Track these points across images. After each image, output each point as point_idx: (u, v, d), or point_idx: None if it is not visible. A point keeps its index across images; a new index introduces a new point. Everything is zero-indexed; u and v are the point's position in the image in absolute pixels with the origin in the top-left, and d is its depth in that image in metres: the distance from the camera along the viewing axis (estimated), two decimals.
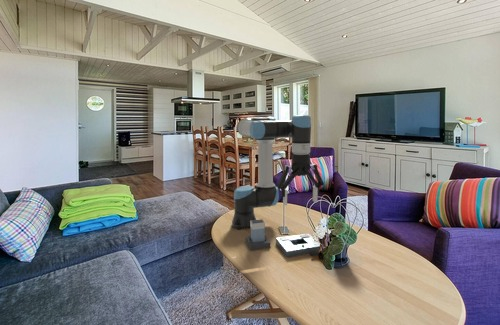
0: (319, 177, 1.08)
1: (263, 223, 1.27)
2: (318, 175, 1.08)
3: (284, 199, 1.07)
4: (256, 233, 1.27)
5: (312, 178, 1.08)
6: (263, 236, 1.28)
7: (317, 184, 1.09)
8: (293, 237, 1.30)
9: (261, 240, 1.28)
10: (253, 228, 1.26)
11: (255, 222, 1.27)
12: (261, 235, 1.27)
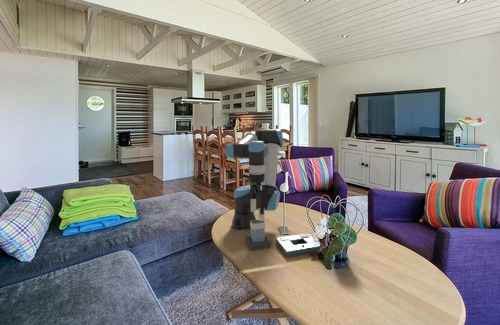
0: (259, 198, 1.18)
1: (263, 223, 1.27)
2: (259, 196, 1.18)
3: None
4: (256, 233, 1.27)
5: (257, 197, 1.21)
6: (263, 236, 1.28)
7: (259, 204, 1.19)
8: (293, 237, 1.30)
9: (261, 240, 1.28)
10: (253, 228, 1.26)
11: (255, 222, 1.27)
12: (261, 235, 1.27)
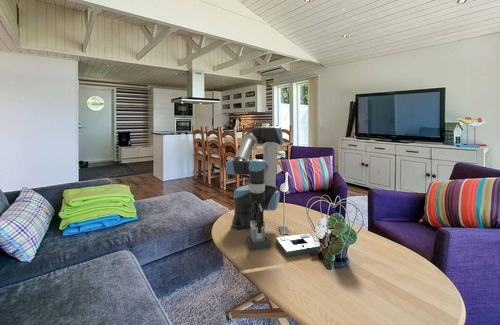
0: (258, 219, 1.22)
1: (263, 223, 1.27)
2: (258, 217, 1.22)
3: None
4: None
5: (256, 216, 1.25)
6: (263, 236, 1.28)
7: (257, 223, 1.25)
8: (293, 237, 1.30)
9: (261, 240, 1.28)
10: (253, 228, 1.26)
11: (255, 222, 1.27)
12: None
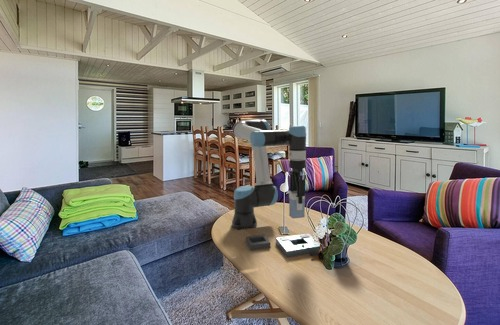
0: (299, 187, 1.15)
1: None
2: (299, 185, 1.15)
3: None
4: None
5: (297, 185, 1.18)
6: (303, 207, 1.21)
7: (297, 193, 1.18)
8: (293, 237, 1.30)
9: (301, 212, 1.21)
10: (293, 198, 1.19)
11: (295, 192, 1.20)
12: None
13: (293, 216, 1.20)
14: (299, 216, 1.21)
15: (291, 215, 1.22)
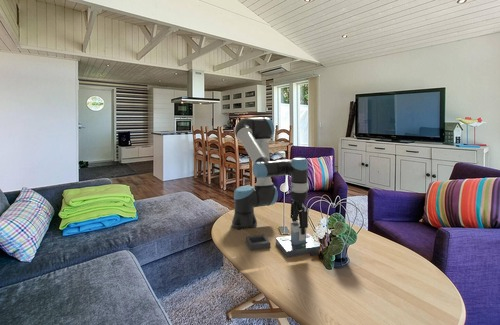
0: (302, 219, 1.17)
1: None
2: (302, 217, 1.17)
3: None
4: (297, 236, 1.22)
5: (299, 216, 1.20)
6: None
7: (300, 224, 1.19)
8: None
9: (302, 243, 1.24)
10: (295, 231, 1.22)
11: (296, 225, 1.23)
12: None
13: None
14: None
15: None
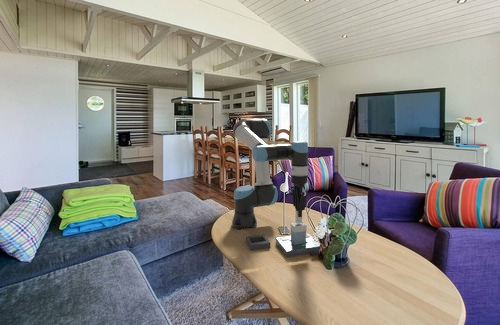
0: (300, 203, 1.18)
1: (305, 226, 1.23)
2: (300, 201, 1.18)
3: None
4: (297, 236, 1.22)
5: (297, 200, 1.21)
6: (304, 239, 1.24)
7: (297, 207, 1.21)
8: None
9: (302, 243, 1.24)
10: (295, 231, 1.22)
11: (296, 225, 1.23)
12: (302, 238, 1.23)
13: None
14: None
15: None
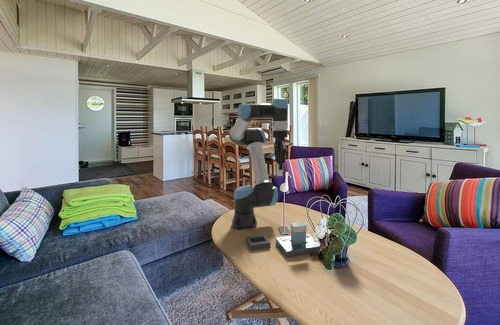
0: (280, 155, 1.28)
1: (305, 226, 1.23)
2: (280, 153, 1.28)
3: None
4: (297, 236, 1.22)
5: (278, 153, 1.30)
6: (304, 239, 1.24)
7: (278, 160, 1.31)
8: None
9: (302, 243, 1.24)
10: (295, 231, 1.22)
11: (296, 225, 1.23)
12: (302, 238, 1.23)
13: None
14: None
15: None
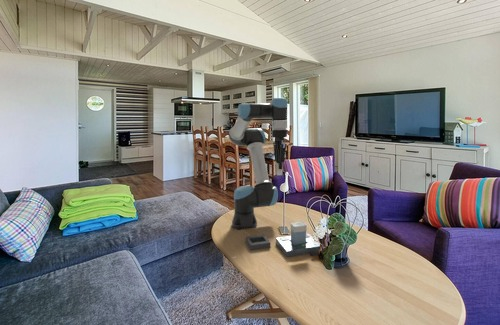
0: (280, 154, 1.28)
1: (305, 226, 1.23)
2: (280, 152, 1.28)
3: None
4: (297, 236, 1.22)
5: (278, 153, 1.31)
6: (304, 239, 1.24)
7: (278, 160, 1.31)
8: None
9: (302, 243, 1.24)
10: (295, 231, 1.22)
11: (296, 225, 1.23)
12: (302, 238, 1.23)
13: None
14: None
15: None
